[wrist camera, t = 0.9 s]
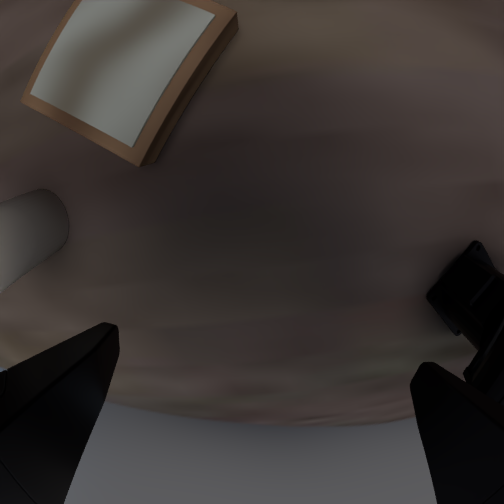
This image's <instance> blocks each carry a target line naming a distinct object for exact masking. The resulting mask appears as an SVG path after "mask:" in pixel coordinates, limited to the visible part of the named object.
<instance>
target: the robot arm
mask: <svg viewBox="0 0 504 504" xmlns="http://www.w3.org/2000/svg"><path fill="white" fill-rule="evenodd" d="M477 246H478V247H477ZM476 247H477V249H476ZM433 295H434V297H433V298H432V296H433ZM427 300H428V301H429V303H430V304H431V305H432V306H433V308H434V309H435V310H436V311H437V313H438V314H439V315H440V316H441V318H442V319H443V320H444V322H445V323H446V324H447V325H448V327H449V328H450V329H451V331H452V332H453V333H454V334H455V335H456V336H458V335H460V334H461V333H463V335H464V336H465V337H466V338H467V339H468V340H469V341H470V342H471V344H472V345H473V346H474V347H475V348H476V349H477V350H478V352H477V353H476V355H475V357H474V358H473V360H472V361H471V363H470V365H469V366H468V367H466V369H465V370H464V372H463V375H464V378H465V380H466V382H465V381H463V380H461V379H460V378H458V377H457V376H455V375H454V374H452V373H450V372H449V371H447V370H446V369H444V368H442V367H441V366H439V365H438V364H436V363H434V362H423V363H422V364H421V365H420V366H419V368H418V370H417V372H416V373H415V375H414V377H413V379H412V380H411V383H410V391H411V395H412V400H413V405H414V410H415V415H416V420H417V425H418V429H419V433H420V437H421V440H422V444H423V447H424V451H425V455H426V458H427V462H428V466H429V470H430V474H431V478H432V482H433V487H434V491H435V496H436V500H437V504H504V275H503V274H502V273H500V272H499V271H497V270H496V269H495V268H494V266H493V264H492V262H491V260H490V258H489V256H488V254H487V252H486V250H485V248H484V246H483V245H482V243H481V242H479V241H477V240H476V241H474V242H473V243H472V244H471V246H470V247H469V248H468V249H467V250H466V252H465V253H464V254H463V255H462V256H461V257H460V259H459V260H458V261H457V262H456V263H455V264H454V265H453V267H452V268H451V269H450V270H449V271H448V272H447V273H446V274H445V275H444V277H443V278H442V279H441V280H440V281H439V282H438V283H437V284H436V285H435V286H434V287H433V288H432V289H431V290H430V291H429V293H428V294H427ZM119 352H120V347H119V330H118V327H117V326H116V325H114V324H110V323H106V322H103V323H100V324H98V325H96V326H94V327H92V328H90V329H88V330H86V331H84V332H82V333H80V334H78V335H76V336H74V337H72V338H70V339H68V340H65V341H63V342H61V343H59V344H57V345H55V346H53V347H51V348H49V349H47V350H45V351H43V352H41V353H39V354H37V355H35V356H33V357H31V358H29V359H27V360H25V361H22V362H20V363H18V364H16V365H14V366H12V367H10V368H8V369H7V370H4V371H2V372H0V504H64V501H65V499H66V496H67V493H68V490H69V488H70V485H71V482H72V480H73V477H74V474H75V471H76V469H77V467H78V464H79V461H80V459H81V456H82V454H83V452H84V449H85V447H86V444H87V442H88V439H89V437H90V434H91V432H92V430H93V427H94V425H95V422H96V420H97V418H98V416H99V413H100V411H101V409H102V406H103V404H104V401H105V399H106V395H107V392H108V389H109V386H110V382H111V379H112V376H113V373H114V370H115V367H116V363H117V360H118V357H119Z"/></svg>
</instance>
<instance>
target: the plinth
mask: <svg viewBox="0 0 504 504" xmlns="http://www.w3.org/2000/svg"><path fill="white" fill-rule="evenodd" d="M237 31H238V20H237V12H236V11H234V10H232V9H229V8H227V7H225V6H223V5H220V4H218V3H216V2H213V1H211V0H75V1H74V2H73V4H72V5H71V7H70V8H69V10H68V11H67V13H66V14H65V16H64V18H63V19H62V21H61V22H60V24H59V26H58V27H57V29H56V31H55V32H54V34H53V36H52V38H51V39H50V41H49V43H48V45H47V47H46V48H45V50H44V52H43V54H42V56H41V58H40V60H39V62H38V64H37V66H36V68H35V70H34V72H33V74H32V76H31V78H30V80H29V83H28V85H27V87H26V89H25V92H24V94H23V96H22V99H21V101H20V102H22V103H23V104H25V105H27V106H29V107H31V108H33V109H35V110H36V111H38V112H40V113H42V114H44V115H46V116H47V117H49V118H51V119H53V120H55V121H57V122H58V123H60V124H62V125H64V126H66V127H68V128H69V129H71V130H73V131H75V132H77V133H78V134H80V135H82V136H84V137H86V138H88V139H89V140H91V141H93V142H95V143H97V144H98V145H100V146H102V147H104V148H106V149H107V150H109V151H111V152H113V153H114V154H116V155H118V156H120V157H122V158H123V159H125V160H127V161H129V162H130V163H132V164H134V165H136V166H138V167H141V166H144V165H148V164H152V163H155V161H156V159H157V157H158V155H159V153H160V152H161V150H162V148H163V146H164V144H165V142H166V141H167V139H168V137H169V135H170V134H171V132H172V130H173V128H174V127H175V125H176V123H177V121H178V120H179V118H180V116H181V115H182V113H183V111H184V110H185V108H186V106H187V105H188V103H189V102H190V100H191V98H192V97H193V95H194V94H195V92H196V90H197V89H198V87H199V86H200V84H201V83H202V81H203V79H204V78H205V76H206V75H207V73H208V72H209V70H210V69H211V67H212V66H213V64H214V63H215V62H216V60H217V59H218V57H219V56H220V54H221V53H222V51H223V50H224V49H225V47H226V46H227V44H228V43H229V42H230V40H231V39H232V38H233V36H234V35H235V34H236V32H237Z"/></svg>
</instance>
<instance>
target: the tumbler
mask: <svg viewBox="0 0 504 504" xmlns="http://www.w3.org/2000/svg"><path fill="white" fill-rule="evenodd" d="M68 232H69V221H68V216H67V212H66V209H65V207H64V205H63V204H62V202H61V201H60V199H59V198H58V197H57V196H56V195H55V194H54V193H52V192H51V191H48V190H45V189H37V190H34V191H31V192H28V193H25V194H22V195H20V196H17V197H14V198H11V199H8V200H6V201H3V202H0V293H1V292H3V291H4V290H5V289H6V288H8V287H9V286H10V285H12V284H13V283H14V282H16V281H17V280H18V279H19V278H21V277H22V276H23V275H25V274H26V273H27V272H29V271H30V270H31V269H33V268H34V267H36V266H37V265H38V264H40V263H41V262H42V261H44V260H45V259H47V258H48V257H50V256H51V255H52V254H54V253H55V252H57V251H58V250H59V249H61V248H62V246H63V245H64V244H65V242H66V240H67V236H68Z"/></svg>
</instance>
